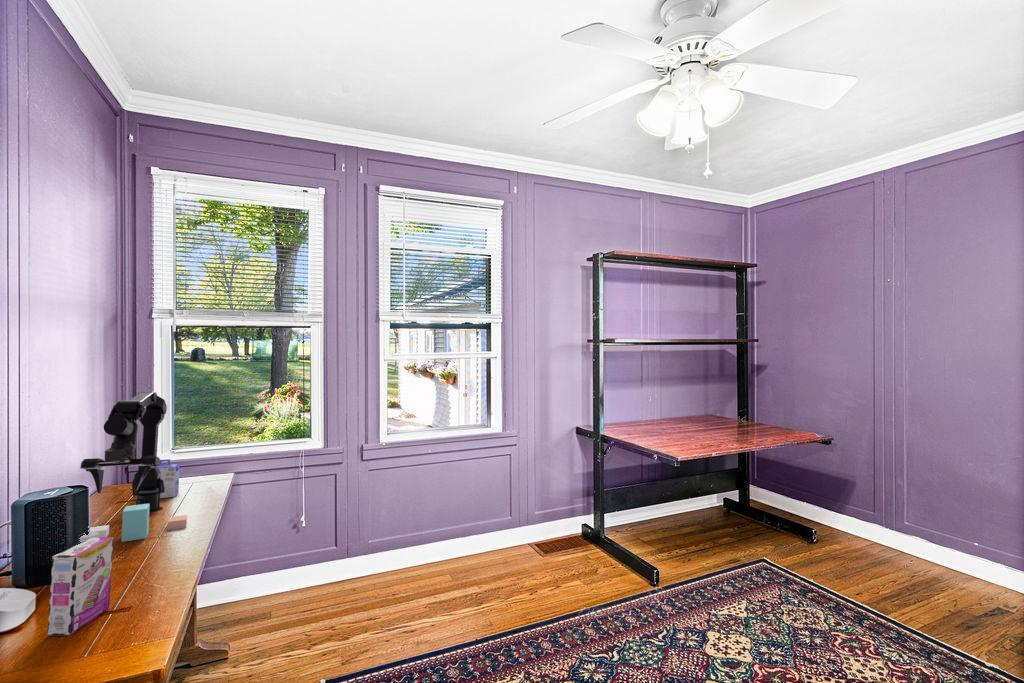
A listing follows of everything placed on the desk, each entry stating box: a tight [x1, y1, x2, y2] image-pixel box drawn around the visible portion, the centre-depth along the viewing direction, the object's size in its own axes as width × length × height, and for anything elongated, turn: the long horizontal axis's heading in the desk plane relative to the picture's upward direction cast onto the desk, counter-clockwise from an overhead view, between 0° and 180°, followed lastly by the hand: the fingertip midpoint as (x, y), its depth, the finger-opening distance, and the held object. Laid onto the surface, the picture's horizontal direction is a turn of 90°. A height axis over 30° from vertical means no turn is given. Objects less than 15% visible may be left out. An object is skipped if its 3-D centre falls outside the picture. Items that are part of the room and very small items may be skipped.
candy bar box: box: [47, 536, 114, 637], centre depth 107 cm, size 11×5×16 cm, turn 5°
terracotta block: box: [167, 514, 188, 531], centre depth 161 cm, size 5×5×4 cm
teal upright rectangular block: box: [121, 503, 150, 543], centre depth 151 cm, size 6×6×9 cm
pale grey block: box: [89, 524, 110, 537], centre depth 150 cm, size 5×5×4 cm
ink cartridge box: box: [157, 458, 180, 499], centre depth 197 cm, size 10×6×14 cm, turn 112°
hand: (117, 491), depth 150 cm, fingers open, 9 cm apart
